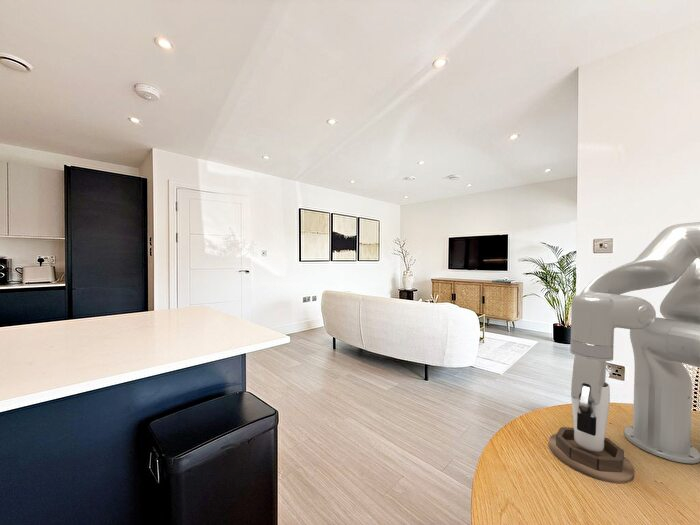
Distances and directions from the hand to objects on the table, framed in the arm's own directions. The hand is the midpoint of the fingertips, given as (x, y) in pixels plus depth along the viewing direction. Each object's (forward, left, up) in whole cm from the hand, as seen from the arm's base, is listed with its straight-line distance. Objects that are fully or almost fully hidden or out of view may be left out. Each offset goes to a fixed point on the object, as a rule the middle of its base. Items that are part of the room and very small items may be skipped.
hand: (589, 425), depth 65 cm
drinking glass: (0, 0, -5) cm, 5 cm away
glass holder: (0, 0, -7) cm, 7 cm away
